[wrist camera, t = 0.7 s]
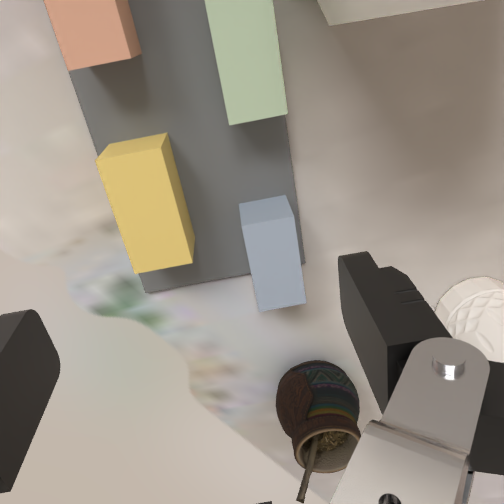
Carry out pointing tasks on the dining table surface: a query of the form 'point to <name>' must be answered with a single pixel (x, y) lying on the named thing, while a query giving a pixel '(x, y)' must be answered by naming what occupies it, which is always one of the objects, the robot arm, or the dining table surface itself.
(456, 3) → the milk
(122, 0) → the terracotta block
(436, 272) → the dining table surface
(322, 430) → the mate gourd
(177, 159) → the mat
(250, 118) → the green block
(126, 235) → the mustard block
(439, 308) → the white cup
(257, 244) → the blue block
